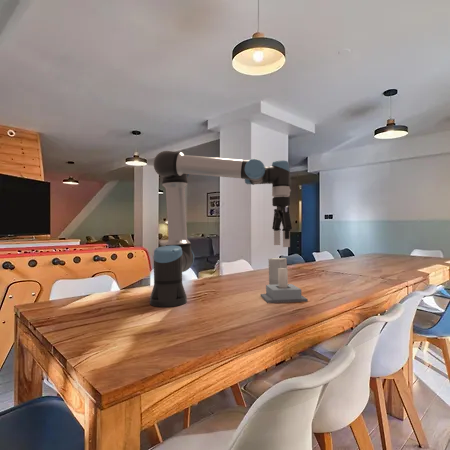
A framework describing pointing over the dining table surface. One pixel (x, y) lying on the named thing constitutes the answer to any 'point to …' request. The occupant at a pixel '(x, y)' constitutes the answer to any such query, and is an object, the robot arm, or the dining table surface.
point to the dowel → (282, 278)
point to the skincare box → (275, 269)
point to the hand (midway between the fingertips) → (281, 246)
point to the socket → (283, 294)
